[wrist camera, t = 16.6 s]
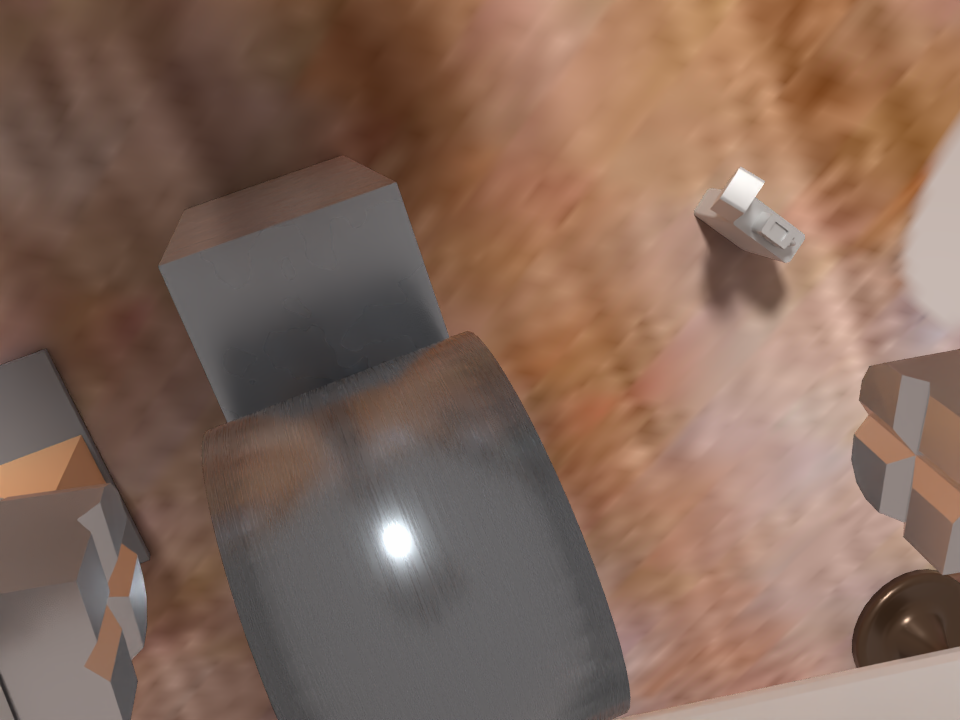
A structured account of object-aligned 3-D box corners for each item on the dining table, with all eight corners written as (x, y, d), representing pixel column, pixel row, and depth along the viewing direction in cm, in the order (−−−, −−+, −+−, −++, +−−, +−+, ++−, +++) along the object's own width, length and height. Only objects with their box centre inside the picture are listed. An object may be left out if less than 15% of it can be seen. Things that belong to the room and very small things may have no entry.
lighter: (762, 225, 52) (851, 246, 44) (745, 251, 52) (830, 277, 44) (669, 156, 49) (747, 166, 42) (652, 184, 49) (726, 199, 42)
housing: (331, 555, 50) (434, 1046, 24) (184, 209, 44) (108, 372, 17) (465, 499, 51) (703, 911, 25) (342, 154, 45) (492, 231, 19)
